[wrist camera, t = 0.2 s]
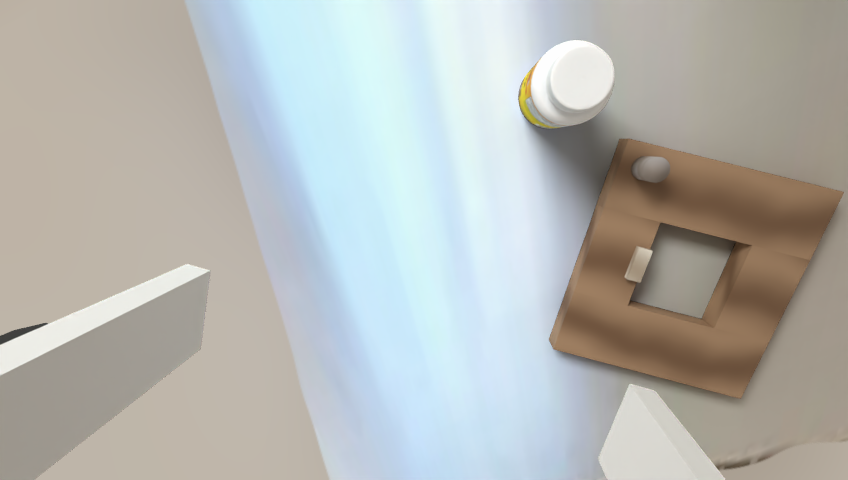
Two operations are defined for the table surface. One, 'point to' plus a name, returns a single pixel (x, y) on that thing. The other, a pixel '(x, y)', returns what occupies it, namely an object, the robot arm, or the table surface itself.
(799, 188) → the wooden slotted board
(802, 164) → the table surface
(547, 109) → the supplement bottle
